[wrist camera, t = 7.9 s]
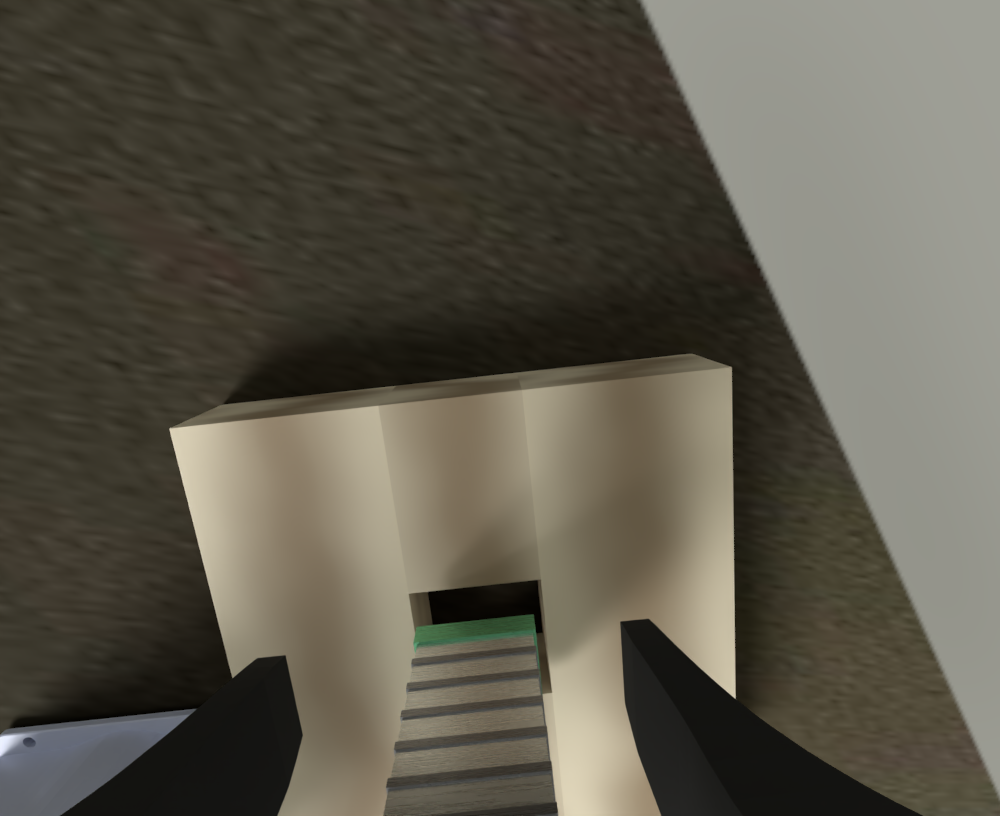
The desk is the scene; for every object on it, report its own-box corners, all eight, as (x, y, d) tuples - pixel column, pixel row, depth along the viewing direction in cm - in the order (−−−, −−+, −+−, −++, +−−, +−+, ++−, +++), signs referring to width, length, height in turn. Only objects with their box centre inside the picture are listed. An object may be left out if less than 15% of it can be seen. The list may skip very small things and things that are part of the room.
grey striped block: (432, 723, 18) (394, 1022, 11) (416, 625, 18) (364, 876, 10) (543, 711, 18) (581, 1002, 11) (533, 612, 18) (566, 855, 10)
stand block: (309, 788, 25) (272, 890, 21) (221, 404, 21) (154, 435, 17) (702, 746, 25) (746, 840, 20) (691, 353, 21) (743, 371, 16)
